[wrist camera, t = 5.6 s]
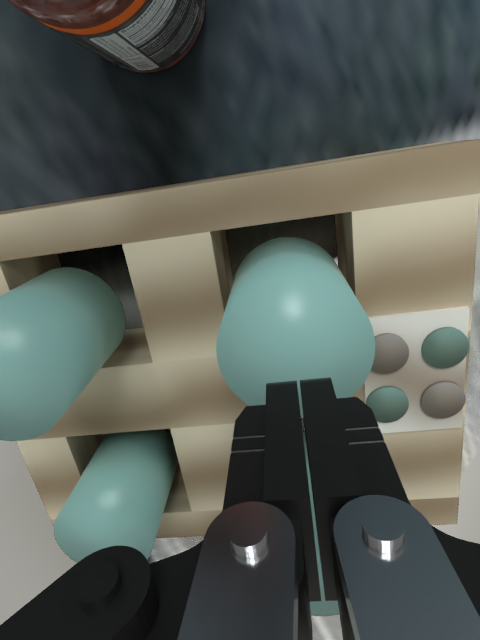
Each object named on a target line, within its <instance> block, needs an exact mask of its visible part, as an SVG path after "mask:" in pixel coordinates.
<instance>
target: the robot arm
mask: <svg viewBox="0 0 480 640" xmlns="http://www.w3.org/2000/svg"><path fill="white" fill-rule="evenodd" d="M300 390H301V399H302V408H303V418H304V427H305V436H306V445H307V454H308V462H309V470H310V479H311V487H312V495H313V503H314V511H315V520H316V528H317V536H318V544H319V552H320V561H321V569H322V577H323V585H324V594H325V601H338V607H339V613H340V620H341V627H342V636H343V640H480V544H477V543H473V542H468V541H465V540H461V539H457V538H455V537H452V536H450V535H447V534H445V533H443V532H441V531H440V530H438V529H436V528H435V527H433V526H432V525H430V523H429V522H428V520H427V519H426V518H425V517H424V516H423V515H422V514H421V513H420V512H419V511H418V510H417V509H416V508H414V507H412V505H411V504H410V502H409V500H408V498H407V495H406V493H405V490H404V488H403V485H402V483H401V480H400V478H399V475H398V473H397V470H396V468H395V465H394V463H393V460H392V458H391V455H390V453H389V450H388V448H387V446H386V443H384V438H383V436H382V433H381V431H380V429H379V427H378V423H377V421H376V418H375V416H374V413H373V411H372V409H371V408H370V407H369V406H367V405H366V404H365V403H364V402H363V401H361V400H360V399H359V398H358V397H348V398H336V395H335V391H334V387H333V384H332V380H331V378H330V377H328V378H317V379H306V380H300ZM313 601H321V592H320V583H319V574H318V565H317V556H316V547H315V538H314V529H313V520H312V511H311V502H310V493H309V484H308V476H307V467H306V458H305V449H304V440H303V431H302V423H301V414H300V405H299V396H298V387H297V380H296V381H285V382H274V383H266V405H255V406H246V407H245V408H244V409H243V411H242V412H241V413H240V415H239V416H238V417H237V419H236V420H235V425H234V432H233V440H232V447H231V454H230V461H229V468H228V475H227V482H226V489H225V496H224V503H223V510H222V512H221V513H220V514H219V515H218V516H217V517H216V518H215V519H214V520H213V521H212V522H211V524H210V525H209V527H208V529H207V531H206V534H205V536H204V540H203V541H202V542H200V543H199V544H197V545H196V546H194V547H193V548H191V549H189V550H187V551H184V552H182V553H180V554H177V555H174V556H171V557H168V558H165V559H163V560H160V561H157V562H154V563H151V564H149V563H148V561H147V559H146V557H145V556H144V555H143V554H142V553H141V552H140V551H138V550H137V549H135V548H132V547H129V546H111V547H107V548H103V549H100V550H98V551H96V552H93V553H92V554H90V555H88V556H86V557H85V558H83V559H82V560H81V561H79V562H78V563H77V564H76V565H74V566H73V567H72V568H71V569H69V570H68V571H67V572H66V573H64V574H63V575H62V576H61V577H59V578H58V579H57V580H56V581H54V582H53V583H52V584H51V585H50V586H48V587H47V588H46V589H45V590H43V591H42V592H41V593H40V594H38V595H37V596H36V597H35V598H34V599H32V600H31V601H30V602H29V603H27V604H26V605H25V606H24V607H22V608H21V609H20V610H19V611H17V612H16V613H15V614H14V615H13V616H11V617H10V618H9V619H8V620H6V621H5V622H4V623H3V624H2V625H0V640H312V622H311V610H310V602H313Z"/></svg>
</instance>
